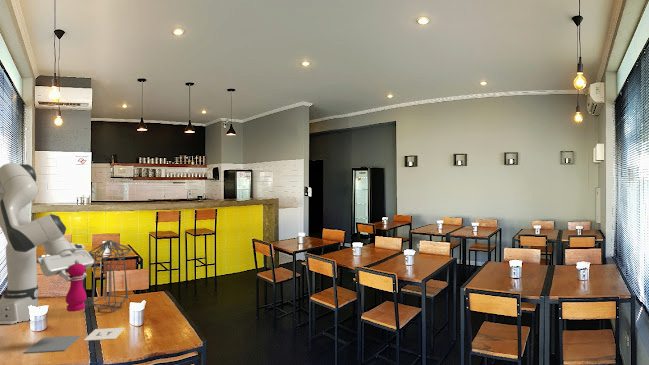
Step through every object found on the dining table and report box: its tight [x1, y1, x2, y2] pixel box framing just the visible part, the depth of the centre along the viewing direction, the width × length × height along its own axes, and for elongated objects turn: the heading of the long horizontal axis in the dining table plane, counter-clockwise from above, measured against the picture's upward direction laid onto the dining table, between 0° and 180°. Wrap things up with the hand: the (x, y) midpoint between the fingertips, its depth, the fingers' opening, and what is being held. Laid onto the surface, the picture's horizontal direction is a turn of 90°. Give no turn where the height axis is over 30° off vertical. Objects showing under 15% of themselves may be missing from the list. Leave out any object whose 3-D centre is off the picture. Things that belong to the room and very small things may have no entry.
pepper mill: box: [65, 260, 88, 313], centre depth 160 cm, size 7×7×20 cm
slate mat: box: [22, 335, 81, 354], centre depth 155 cm, size 14×14×1 cm
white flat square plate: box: [82, 327, 125, 342], centre depth 166 cm, size 12×12×1 cm
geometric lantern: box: [87, 239, 133, 314], centre depth 196 cm, size 16×16×35 cm
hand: (77, 278), depth 160 cm, fingers closed on pepper mill, 5 cm apart
